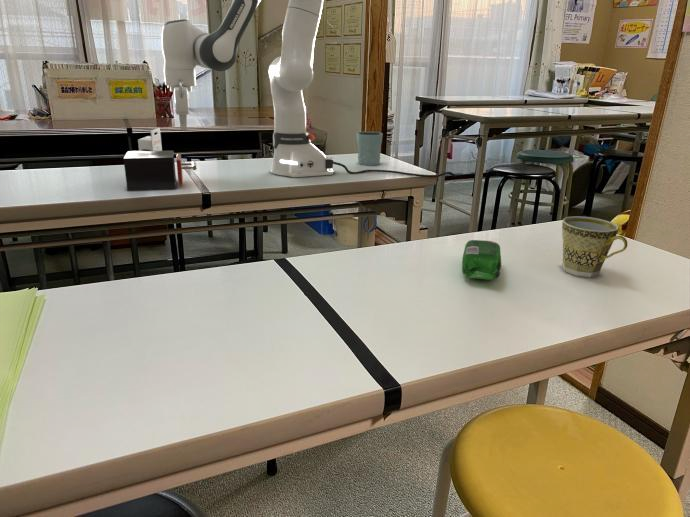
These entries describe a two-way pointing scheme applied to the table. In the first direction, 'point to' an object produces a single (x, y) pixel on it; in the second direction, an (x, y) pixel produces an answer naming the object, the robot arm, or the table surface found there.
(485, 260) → the snack package
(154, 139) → the ink box
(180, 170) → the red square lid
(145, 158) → the black drawer casing
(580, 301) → the table surface
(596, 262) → the ceramic cup
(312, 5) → the robot arm
